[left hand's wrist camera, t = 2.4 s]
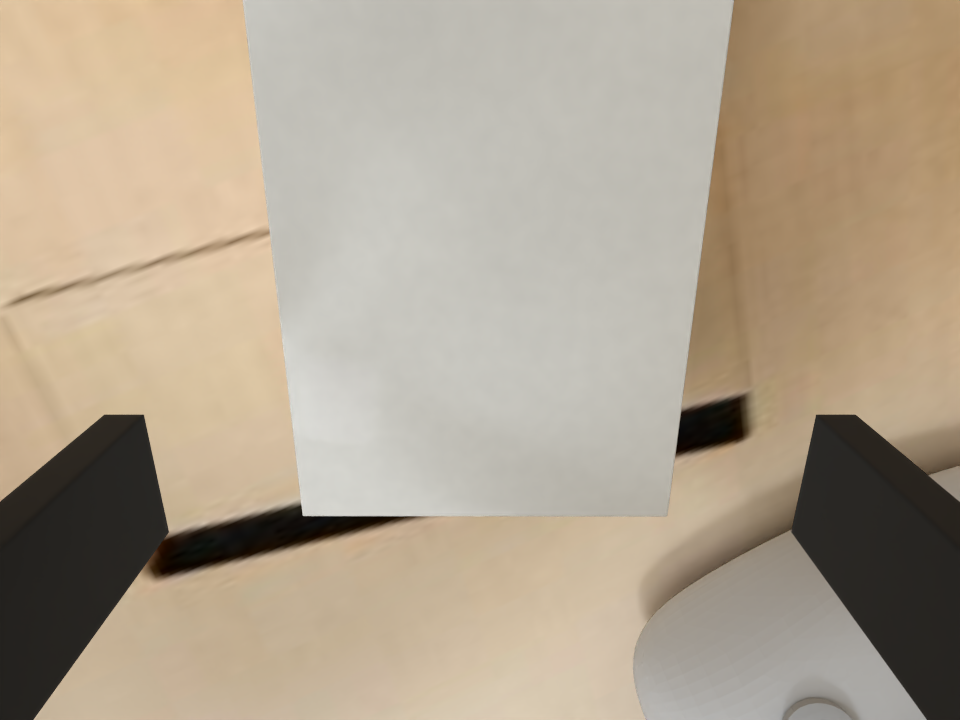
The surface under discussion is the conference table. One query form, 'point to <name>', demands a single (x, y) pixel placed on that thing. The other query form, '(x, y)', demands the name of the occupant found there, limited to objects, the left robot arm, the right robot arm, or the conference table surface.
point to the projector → (766, 645)
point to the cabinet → (486, 245)
